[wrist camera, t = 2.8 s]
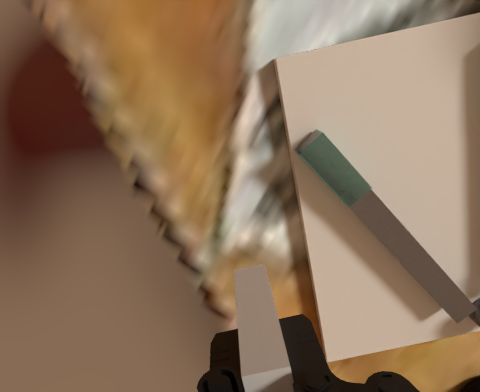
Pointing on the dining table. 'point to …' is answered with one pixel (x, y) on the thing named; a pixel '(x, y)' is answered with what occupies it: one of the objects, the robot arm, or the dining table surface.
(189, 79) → the dining table surface
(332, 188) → the bar
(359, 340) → the rest board
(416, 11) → the dining table surface
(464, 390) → the beverage can
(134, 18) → the dining table surface
